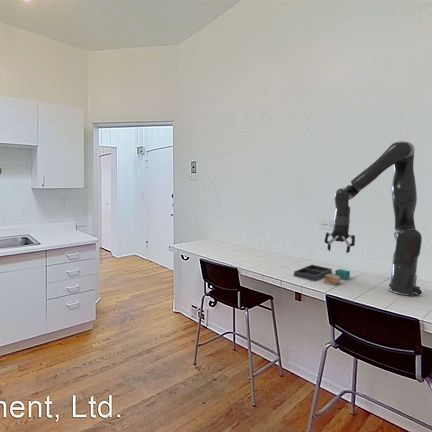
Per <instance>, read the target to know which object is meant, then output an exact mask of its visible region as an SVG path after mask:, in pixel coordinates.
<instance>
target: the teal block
mask: <svg viewBox="0 0 432 432" xmlns="http://www.w3.org/2000/svg"><path fill="white" fill-rule="evenodd" d="M334 272H335V273H334V275H337V276H340V280H344V281H346V280H348V279H350V276H351V270H346V269H343V268H339V269H336V270H335V271H334Z"/></svg>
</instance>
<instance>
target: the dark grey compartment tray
mask: <svg viewBox="0 0 432 432" xmlns="http://www.w3.org/2000/svg"><path fill="white" fill-rule="evenodd" d="M293 272H294V273H293V276H294V277H297V278H302V279H306V280H310V281H312V282H313V281H317V280H320V279H322V278H325V275H327V274H332V273H333V268H329V267H324V266H321V265H320V266H319V265H316V264H310V265H307V266H305V267H302V268H300V269H296V270H294V271H293Z"/></svg>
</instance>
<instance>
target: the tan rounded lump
mask: <svg viewBox="0 0 432 432" xmlns="http://www.w3.org/2000/svg"><path fill="white" fill-rule="evenodd" d="M340 281H341V279H340V276H337V275H335V274H332V273H331V274H327V275H325V276H324V281H323V282H324V284H329V285H332V286H337V285H339V284H340Z"/></svg>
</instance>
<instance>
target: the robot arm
mask: <svg viewBox="0 0 432 432" xmlns="http://www.w3.org/2000/svg"><path fill="white" fill-rule="evenodd" d="M414 162H415V146H414V145H413V143H411V142H409V141H405V140H404V141H403V140H400V141H399V140H398V141H395V142H392V143H391V144H390V146H388V148H387V149H386V150H384V152H383V153H382V154H381V155H380V156H379V157H378V158H377V159H376V160H375V161H374V162H373V163H372V164H370V165H369V166H368V167H367V168H365V169H364V170H362V171H361V172H360V173H359V174H358V175H356V176H355V177H354V178H353V179H351V180H350V183H349V184H348V185H347V186H344V187H342V188H339V189H337V190H336V191H335V193H334V205H335V211H334V217H333V222H332V232H325V236H324V243H325V244H327V250H328V252H331V247H332V244H333V243H334V242H341V243H343V242H344V243H345V244H346V249H345V250H346V251H345V253H346V254H349V253H350V251H351V247H354V246H355V245H356V236H355V234H349V232H350V223H351V222H350V221H351V206H350V205H349V201H351V200H352V199H354V198H355V197H356V196H357V195H358V194H359V193H360V192H361V191H362V190H363V189H365V188H366V187H368V186H369V185H371V183H373V182H374V181H375V180H376V179H377V178H378V177H379V176H380V175H381V174H383V172H385V171H386V170H387V169H389V168H390V167H392V166H393V177H392V182H391V200H392V201H391V202H392V208H393V214H394V229H393V237H394V239H395V241H396V242H395V250H394V252H393V254H392V265H391V273H390V274H391V275H390V283H389V284H388V287H389V291H390V292H391V293H393V294H397V295H401V296H407V297H413V296H414V295H415V294H417V295H418V296H419V295H421V294H422V293H423V291H422V290H421V287H420V286H418V285H417V279H418V275H417V269H418V260H419V256H420V255H421V248H422V241H423V239H422V234H421V232H420V231H418V230H417V229H416V225H415V224H416V223H415V212H416V207H417V202H418V193H417V183H416V175H415V171H414V164H415V163H414ZM330 237H331V239H330V240H328V239H329V238H330ZM348 238H350V239H351V243H350V242H349V241H348Z"/></svg>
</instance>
